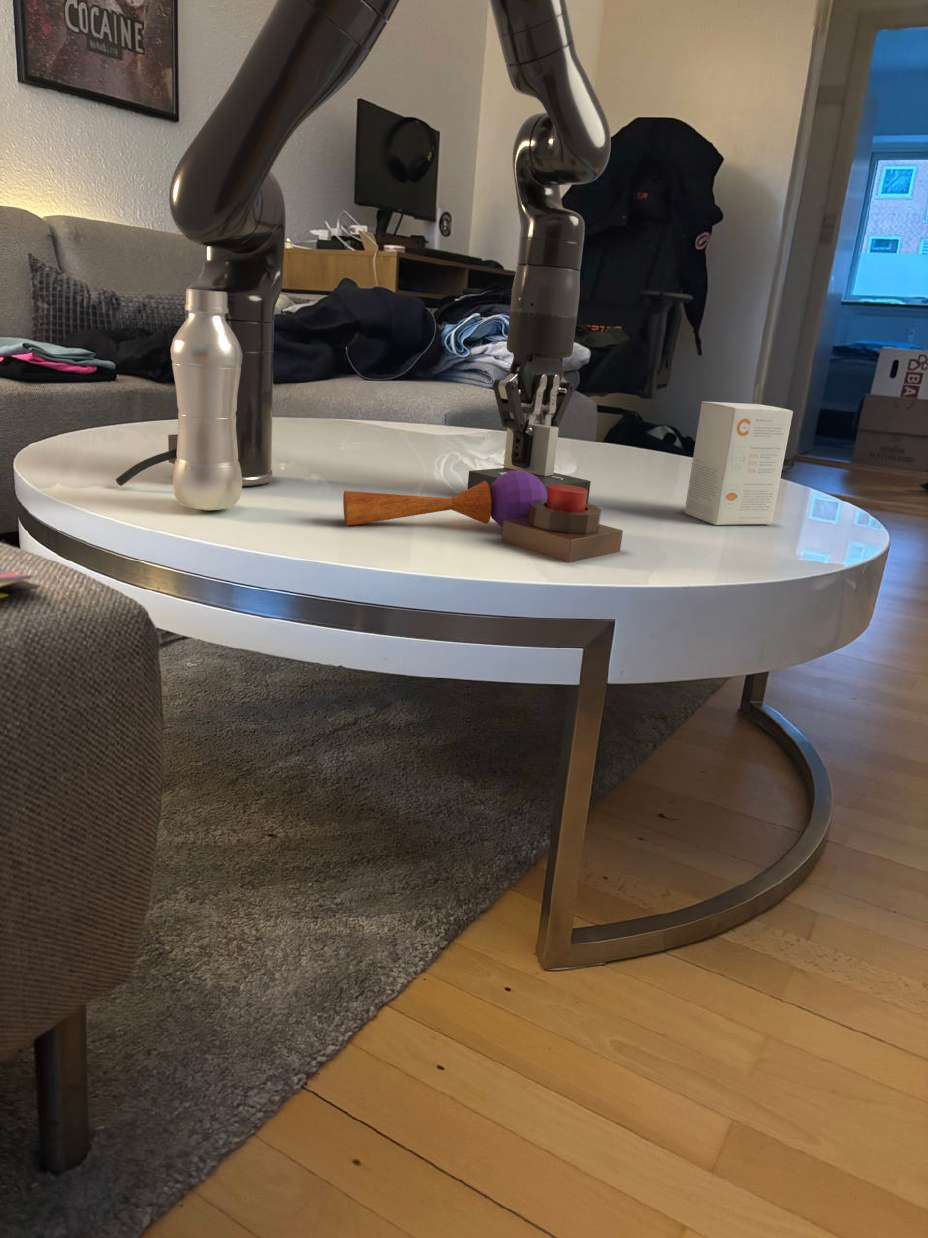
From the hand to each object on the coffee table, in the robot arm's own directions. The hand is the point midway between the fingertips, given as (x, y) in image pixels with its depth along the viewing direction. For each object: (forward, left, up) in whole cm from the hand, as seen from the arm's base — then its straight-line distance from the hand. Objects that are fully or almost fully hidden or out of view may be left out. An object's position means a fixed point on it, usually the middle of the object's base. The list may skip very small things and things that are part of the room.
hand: (526, 465), depth 108 cm
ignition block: (-16, -18, -4) cm, 25 cm away
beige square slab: (0, 0, -1) cm, 1 cm away
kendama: (-21, -8, -4) cm, 22 cm away
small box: (+14, -19, -4) cm, 24 cm away
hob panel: (-1, -1, -4) cm, 4 cm away
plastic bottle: (-37, +9, -4) cm, 38 cm away
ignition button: (-16, -18, 0) cm, 24 cm away
